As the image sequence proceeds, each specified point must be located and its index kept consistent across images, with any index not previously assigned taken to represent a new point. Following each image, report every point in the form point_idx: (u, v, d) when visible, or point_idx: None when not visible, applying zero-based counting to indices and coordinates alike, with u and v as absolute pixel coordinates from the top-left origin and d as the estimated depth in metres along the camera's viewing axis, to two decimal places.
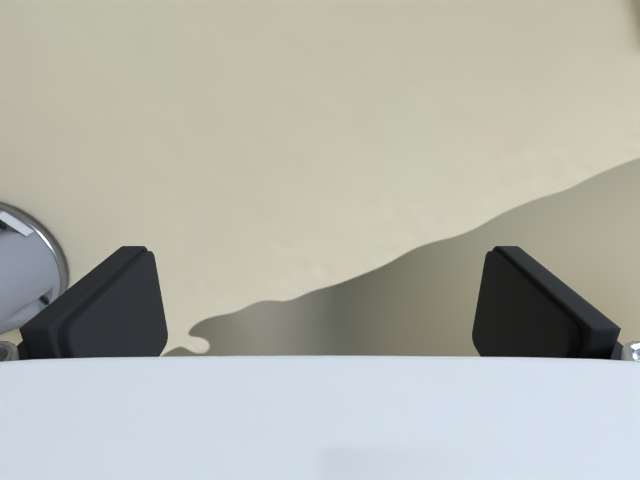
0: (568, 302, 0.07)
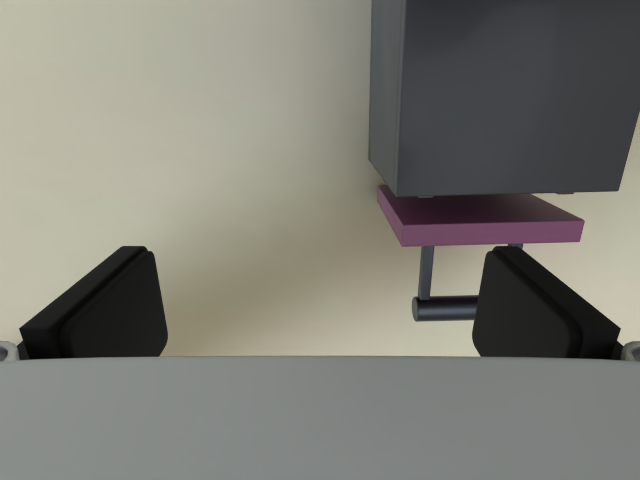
0: (568, 302, 0.07)
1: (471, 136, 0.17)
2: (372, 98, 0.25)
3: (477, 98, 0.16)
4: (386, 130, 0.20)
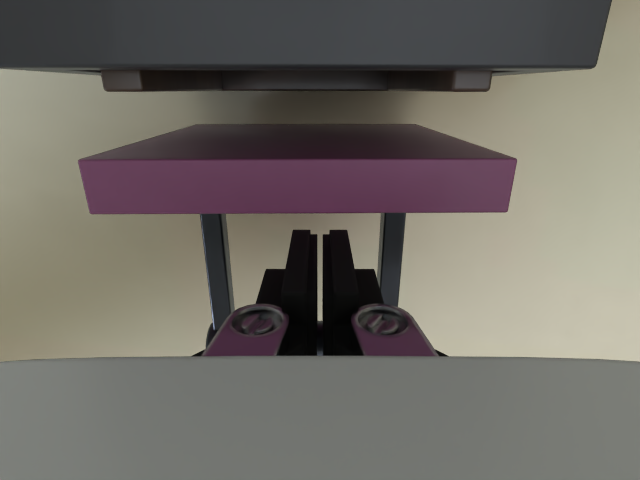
0: (339, 273, 0.09)
1: None
2: None
3: None
4: None
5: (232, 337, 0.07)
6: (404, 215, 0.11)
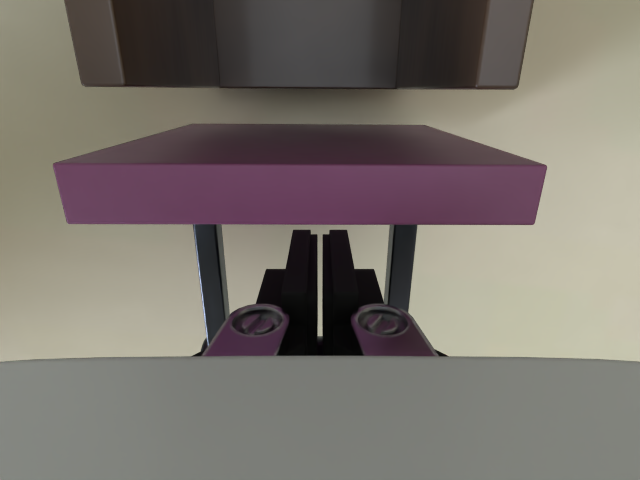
0: (339, 273, 0.09)
1: None
2: None
3: None
4: None
5: (232, 337, 0.07)
6: (415, 225, 0.10)
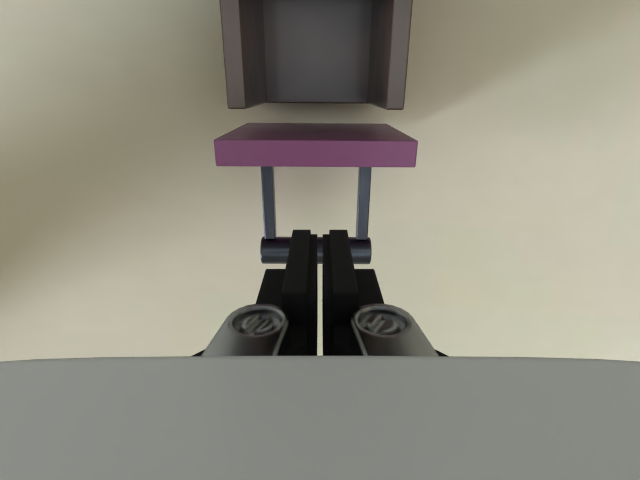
0: (339, 273, 0.09)
1: None
2: None
3: None
4: None
5: (232, 337, 0.07)
6: (370, 173, 0.20)
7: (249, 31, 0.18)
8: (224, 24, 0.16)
